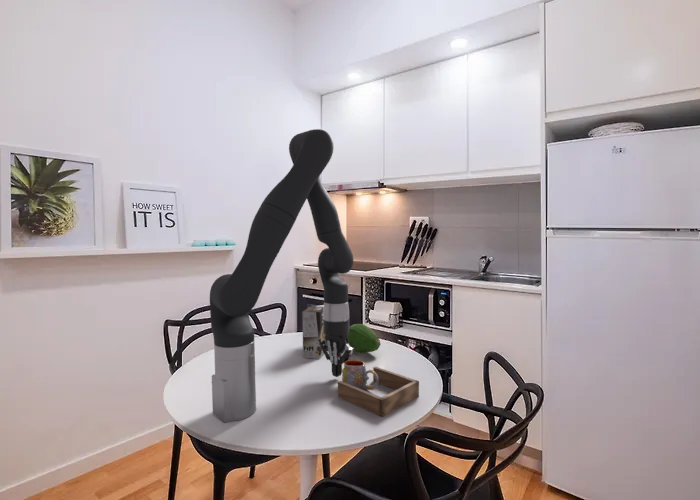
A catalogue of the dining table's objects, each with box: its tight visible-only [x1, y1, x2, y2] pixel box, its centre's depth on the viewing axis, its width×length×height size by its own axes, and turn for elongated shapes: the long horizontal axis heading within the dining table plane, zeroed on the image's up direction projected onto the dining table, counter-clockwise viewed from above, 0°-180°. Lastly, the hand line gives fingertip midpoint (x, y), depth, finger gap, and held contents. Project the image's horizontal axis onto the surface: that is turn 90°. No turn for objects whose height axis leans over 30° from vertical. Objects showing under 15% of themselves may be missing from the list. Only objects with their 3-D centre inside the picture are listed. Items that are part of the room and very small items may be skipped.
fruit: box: [347, 323, 381, 354], centre depth 133 cm, size 15×10×10 cm, turn 41°
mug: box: [341, 359, 380, 391], centre depth 104 cm, size 12×7×7 cm, turn 46°
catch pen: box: [337, 366, 420, 417], centre depth 99 cm, size 15×15×4 cm
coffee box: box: [302, 306, 325, 360], centre depth 132 cm, size 9×6×16 cm
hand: (336, 375), depth 110 cm, fingers closed
